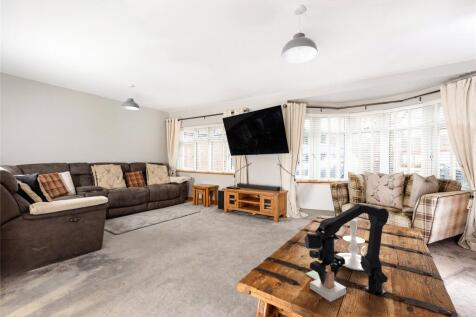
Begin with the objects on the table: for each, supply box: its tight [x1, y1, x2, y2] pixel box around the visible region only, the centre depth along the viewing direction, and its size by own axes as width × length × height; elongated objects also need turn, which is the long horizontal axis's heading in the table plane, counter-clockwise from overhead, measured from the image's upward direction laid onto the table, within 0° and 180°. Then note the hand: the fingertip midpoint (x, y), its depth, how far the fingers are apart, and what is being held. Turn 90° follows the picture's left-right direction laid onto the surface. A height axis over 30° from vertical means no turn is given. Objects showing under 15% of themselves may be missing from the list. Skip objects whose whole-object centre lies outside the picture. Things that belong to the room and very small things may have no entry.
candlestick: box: [336, 218, 367, 271], centre depth 123 cm, size 21×25×28 cm
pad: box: [305, 270, 319, 280], centre depth 111 cm, size 9×9×1 cm
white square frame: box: [309, 278, 347, 303], centre depth 98 cm, size 11×11×3 cm
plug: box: [321, 268, 335, 289], centre depth 98 cm, size 4×4×9 cm
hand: (327, 281), depth 98 cm, fingers open, 7 cm apart
